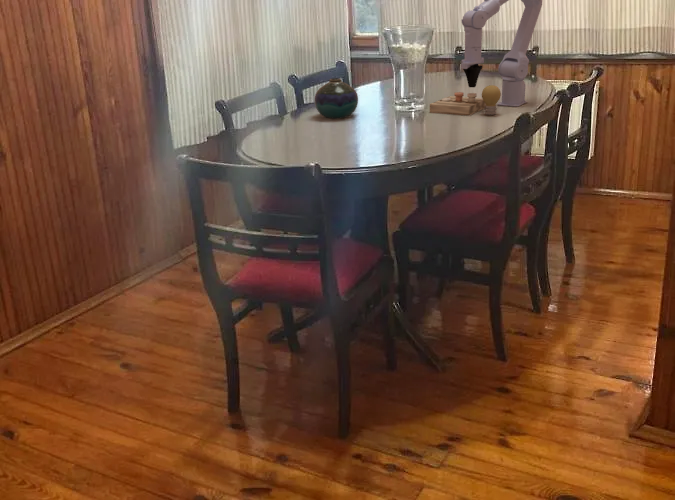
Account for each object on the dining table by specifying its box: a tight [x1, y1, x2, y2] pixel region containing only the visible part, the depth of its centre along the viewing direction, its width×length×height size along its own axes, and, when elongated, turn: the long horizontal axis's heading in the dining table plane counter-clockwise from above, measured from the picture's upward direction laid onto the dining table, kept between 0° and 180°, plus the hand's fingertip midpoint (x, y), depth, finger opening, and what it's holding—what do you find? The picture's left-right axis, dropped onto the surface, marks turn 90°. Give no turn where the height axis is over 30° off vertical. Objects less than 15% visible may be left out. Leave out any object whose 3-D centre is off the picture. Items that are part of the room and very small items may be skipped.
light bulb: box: [481, 84, 502, 116], centre depth 253 cm, size 6×6×10 cm
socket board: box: [429, 95, 486, 117], centre depth 264 cm, size 16×15×3 cm
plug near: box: [467, 92, 478, 103], centre depth 260 cm, size 3×3×3 cm
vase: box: [314, 77, 359, 119], centre depth 260 cm, size 15×15×13 cm
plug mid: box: [453, 91, 465, 102], centre depth 263 cm, size 3×3×3 cm
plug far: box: [441, 97, 451, 102], centre depth 267 cm, size 3×3×3 cm
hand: (472, 87), depth 259 cm, fingers closed
